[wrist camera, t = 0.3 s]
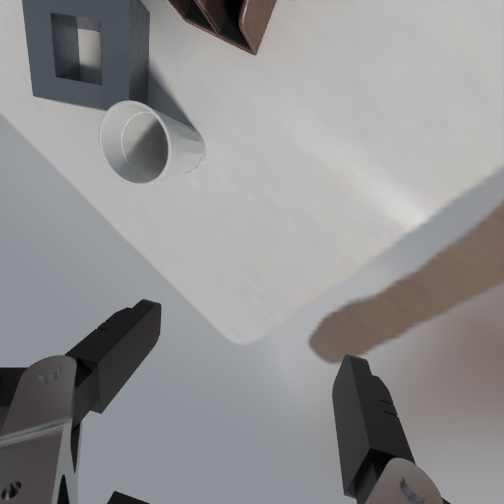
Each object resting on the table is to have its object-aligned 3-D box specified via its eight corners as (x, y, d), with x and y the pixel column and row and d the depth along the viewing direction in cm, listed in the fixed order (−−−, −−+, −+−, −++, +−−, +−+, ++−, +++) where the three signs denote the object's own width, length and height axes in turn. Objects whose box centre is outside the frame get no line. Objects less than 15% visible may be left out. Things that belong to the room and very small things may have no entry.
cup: (149, 133, 37) (84, 122, 26) (196, 108, 35) (146, 84, 24) (174, 186, 39) (123, 197, 28) (220, 165, 37) (184, 168, 26)
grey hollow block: (50, -2, 34) (19, -22, 30) (149, 13, 32) (129, -6, 28) (59, 102, 38) (33, 96, 34) (146, 119, 36) (129, 114, 33)
